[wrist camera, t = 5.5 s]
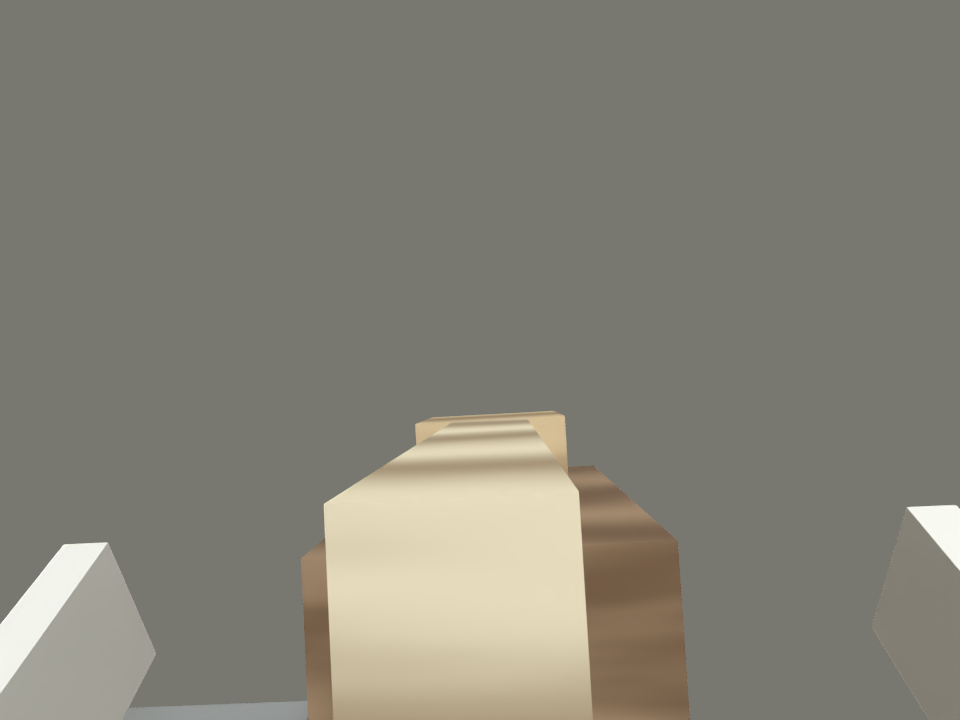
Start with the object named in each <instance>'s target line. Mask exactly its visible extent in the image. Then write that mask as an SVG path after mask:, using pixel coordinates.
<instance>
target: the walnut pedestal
mask: <svg viewBox="0 0 960 720" xmlns="http://www.w3.org/2000/svg"><path fill="white" fill-rule="evenodd" d="M568 477H569V478H570V480H571V481H572V482H573V484H574V485H575V487H576V488H577V490H578V491H579V502H580V518H581V534H582V551H583V567H584V583H585V599H586V616H587V632H588V648H589V665H590V681H591V697H592V713H593V720H690V718H689V702H688V687H687V672H686V657H685V643H684V627H683V612H682V598H681V584H680V568H679V553H678V541H677V540H676V539H675V538H674V537H673V536H672V535H671V534H669V533H668V532H667V531H666V530H665V529H664V528H663V527H662V526H660V525H659V524H658V523H657V522H656V521H655V520H654V519H652V518H651V517H650V516H649V515H648V514H647V513H646V512H645V511H644V510H642V509H641V508H640V507H639V506H638V505H637V504H636V503H635V502H633V501H632V500H631V499H630V498H629V497H628V496H627V495H626V494H624V493H623V492H622V491H621V490H620V489H619V488H617V487H616V486H615V485H614V484H613V483H612V482H611V481H610V480H609V479H608V478H606V477H605V476H604V475H603V474H602V473H601V472H600V471H599V470H597V469H596V468H595V467H594V466H578V467H568ZM301 562H302V585H303V606H304V631H305V653H306V654H305V655H306V678H307V701H308V720H333V701H332V678H331V656H330V633H329V611H328V589H327V566H326V544H325V539H324V540H323V541H322V542H320V543H319V544H318V545H317V546H316V547H315V548H313V549H312V550H311V551H310V552H308V553H307V554H306V555H305V556H304V557H302V558H301Z"/></svg>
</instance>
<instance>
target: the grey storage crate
mask: <svg viewBox="0 0 960 720" xmlns="http://www.w3.org/2000/svg"><path fill="white" fill-rule="evenodd" d="M122 720H308V701H299V702H298V701H297V702H272V703H247V704H246V703H245V704H221V705H194V706H168V707H143V708H128V709H127V711H126V713H125V715H124V717H123V719H122Z"/></svg>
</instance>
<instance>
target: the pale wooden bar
mask: <svg viewBox="0 0 960 720" xmlns="http://www.w3.org/2000/svg"><path fill="white" fill-rule="evenodd" d="M324 518H325V519H324V520H325V544H326V566H327V589H328V611H329V633H330V656H331V678H332V701H333V720H593V713H592V697H591V681H590V665H589V648H588V632H587V616H586V599H585V583H584V567H583V551H582V534H581V518H580V502H579V491H578V490H577V488H576V487H575V485H574V484H573V482H572V481H571V480H570V478H569V477H568V464H567V447H566V431H565V416H563V415H561V414H559V413H557V412H555V411H545V412H528V413H508V414H490V415H472V416H453V417H434V418H430V419H427V420H425V421H422V422H420V423H417V424H416V446H414V447H413V448H411V449H410V450H408V451H407V452H405V453H403V454H402V455H401V456H399V457H397V458H396V459H394V460H392V461H391V462H389V463H388V464H386V465H384V466H383V467H382V468H380V469H378V470H377V471H375V472H374V473H372V474H370V475H369V476H367V477H366V478H364V479H362V480H361V481H359V482H358V483H356V484H355V485H353V486H351V487H350V488H348V489H347V490H345V491H344V492H342V493H340V494H339V495H337V496H336V497H334V498H333V499H331V500H329V501H328V502H326V503H325V504H324Z"/></svg>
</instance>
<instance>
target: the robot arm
mask: <svg viewBox="0 0 960 720" xmlns="http://www.w3.org/2000/svg"><path fill="white" fill-rule="evenodd" d="M872 629H873V630H874V632H875V634H876V635H877V637H878V638H879V640H880V642H881V643H882V645H883V647H884V648H885V650H886V651H887V653H888V655H889V656H890V658H891V659H892V661H893V663H894V665H895V666H896V668H897V669H898V671H899V672H900V674H901V676H902V677H903V679H904V681H905V682H906V684H907V686H908V687H909V689H910V690H911V692H912V693H913V695H914V697H915V699H916V700H917V702H918V703H919V705H920V706H921V708H922V710H923V711H924V713H925V715H926V716H927V718H928V720H960V509H959V508H958V507H957V506H956V505H948V506H926V507H907V508H906V512H905V515H904V519H903V522H902V525H901V529H900V532H899V535H898V539H897V542H896V546H895V549H894V552H893V556H892V559H891V563H890V566H889V570H888V573H887V577H886V580H885V583H884V586H883V590H882V593H881V597H880V600H879V603H878V607H877V610H876V614H875V617H874V620H873V624H872ZM155 655H156V652H155V650H154V648H153V645H152V643H151V641H150V638H149V636H148V634H147V632H146V629H145V627H144V625H143V622H142V620H141V618H140V615H139V613H138V611H137V608H136V606H135V604H134V602H133V599H132V597H131V595H130V592H129V590H128V588H127V586H126V583H125V581H124V579H123V576H122V574H121V572H120V569H119V567H118V565H117V562H116V560H115V558H114V556H113V553H112V551H111V549H110V546H109V544H108V543H87V544H67V545H65V544H64V545H63V546H62V547H61V549H60V550H59V551H58V552H57V554H56V555H55V556H54V557H53V559H52V560H51V561H50V562H49V564H48V565H47V566H46V568H45V569H44V570H43V571H42V573H41V574H40V575H39V577H38V578H37V579H36V580H35V581H34V583H33V584H32V585H31V586H30V588H29V589H28V590H27V592H26V593H25V594H24V595H23V597H22V598H21V599H20V600H19V602H18V603H17V604H16V605H15V607H14V608H13V609H12V610H11V612H10V613H9V614H8V616H7V617H6V618H5V619H4V621H3V622H2V623H1V624H0V720H122V719H123V717H124V715H125V713H126V711H127V709H128V707H129V705H130V703H131V701H132V699H133V697H134V695H135V693H136V691H137V689H138V688H139V685H140V684H141V682H142V680H143V678H144V676H145V674H146V672H147V670H148V668H149V666H150V664H151V662H152V660H153V658H154V656H155Z"/></svg>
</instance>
